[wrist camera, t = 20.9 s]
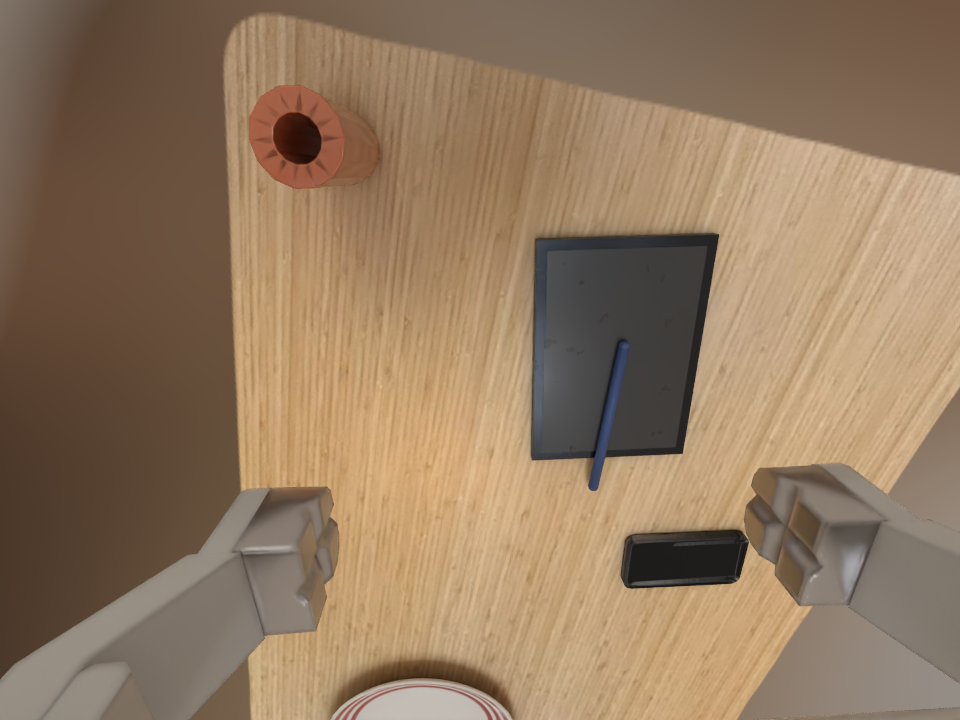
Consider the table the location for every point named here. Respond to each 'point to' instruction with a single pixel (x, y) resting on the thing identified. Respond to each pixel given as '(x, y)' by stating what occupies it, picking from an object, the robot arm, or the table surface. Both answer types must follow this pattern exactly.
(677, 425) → the tablet
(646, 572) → the phone
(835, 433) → the table surface
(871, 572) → the robot arm
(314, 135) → the holder
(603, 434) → the stylus
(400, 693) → the dinner plate
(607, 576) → the table surface
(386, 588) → the table surface
